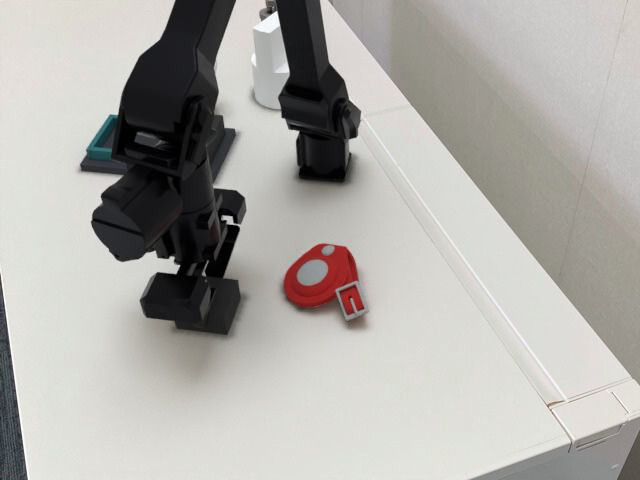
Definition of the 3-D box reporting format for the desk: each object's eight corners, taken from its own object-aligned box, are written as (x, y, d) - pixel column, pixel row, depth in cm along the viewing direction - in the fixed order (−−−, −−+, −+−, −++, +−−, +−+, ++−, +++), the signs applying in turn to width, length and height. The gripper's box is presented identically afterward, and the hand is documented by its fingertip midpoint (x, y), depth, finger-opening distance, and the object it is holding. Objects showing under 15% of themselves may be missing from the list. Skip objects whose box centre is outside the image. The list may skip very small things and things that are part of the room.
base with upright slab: (276, 73, 125) (270, -1, 116) (323, 88, 121) (321, 13, 112) (243, 99, 119) (234, 23, 110) (291, 115, 116) (286, 38, 107)
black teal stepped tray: (235, 134, 113) (232, 110, 110) (213, 183, 105) (208, 158, 102) (112, 123, 115) (106, 99, 112) (81, 170, 107) (73, 145, 104)
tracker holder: (266, 295, 89) (302, 229, 93) (281, 317, 93) (315, 252, 97) (357, 311, 83) (391, 240, 87) (369, 334, 87) (402, 265, 91)
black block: (241, 298, 91) (238, 279, 88) (227, 335, 87) (224, 316, 84) (192, 292, 91) (187, 273, 89) (176, 329, 87) (171, 310, 85)
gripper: (139, 136, 83) (166, 246, 95) (71, 249, 71) (111, 359, 83) (239, 145, 82) (254, 255, 94) (187, 262, 70) (211, 372, 82)
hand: (208, 306), depth 88 cm, fingers closed on black block, 6 cm apart
